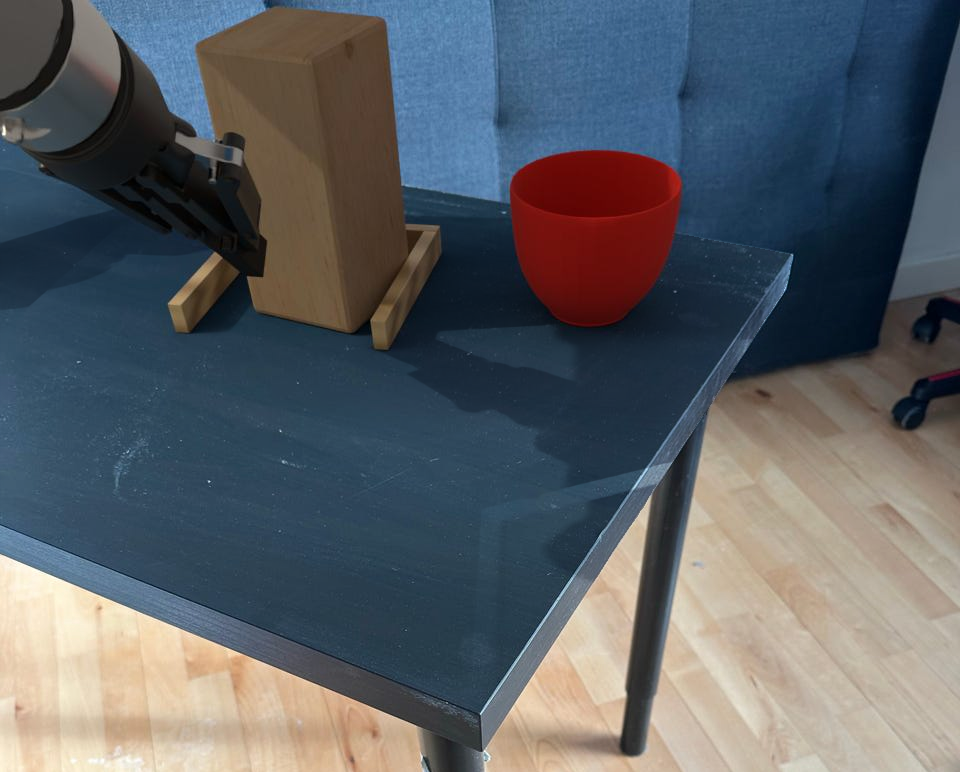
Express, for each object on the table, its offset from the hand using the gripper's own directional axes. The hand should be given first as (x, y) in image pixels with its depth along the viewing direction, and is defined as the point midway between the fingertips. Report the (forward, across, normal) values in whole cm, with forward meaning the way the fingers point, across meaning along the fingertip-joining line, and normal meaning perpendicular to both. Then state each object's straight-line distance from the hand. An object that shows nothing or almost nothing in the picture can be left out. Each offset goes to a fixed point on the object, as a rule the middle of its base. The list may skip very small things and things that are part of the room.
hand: (255, 258), depth 70 cm
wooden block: (+11, +2, +1) cm, 12 cm away
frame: (+12, 0, +1) cm, 12 cm away
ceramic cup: (+14, +23, +3) cm, 27 cm away
